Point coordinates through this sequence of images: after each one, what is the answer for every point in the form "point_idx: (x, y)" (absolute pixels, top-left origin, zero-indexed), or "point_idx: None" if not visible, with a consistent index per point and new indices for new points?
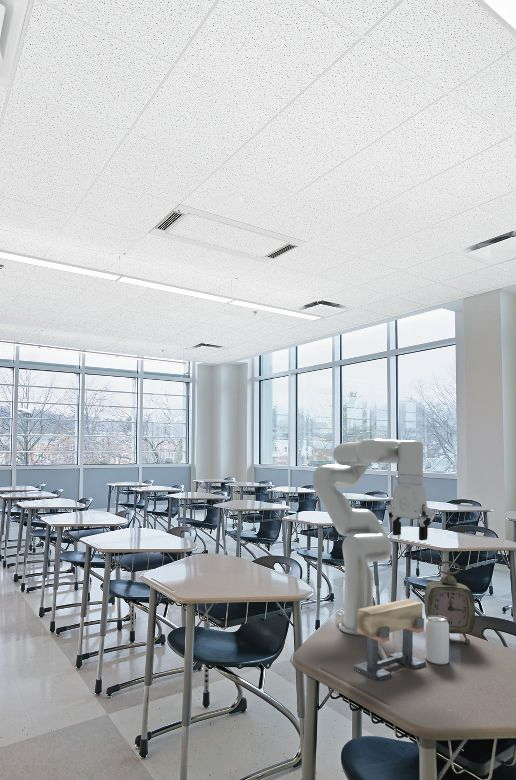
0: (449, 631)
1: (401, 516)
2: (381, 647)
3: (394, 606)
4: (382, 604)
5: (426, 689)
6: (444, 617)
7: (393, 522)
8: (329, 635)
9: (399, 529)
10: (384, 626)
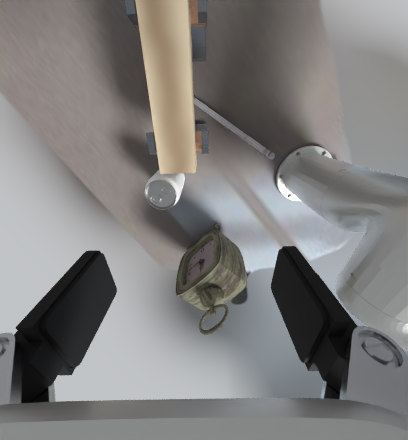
0: (199, 240)
1: (221, 421)
2: (220, 121)
3: (161, 79)
4: (187, 61)
5: (104, 76)
6: (159, 208)
7: (342, 318)
8: (321, 111)
9: (284, 304)
10: (133, 1)
